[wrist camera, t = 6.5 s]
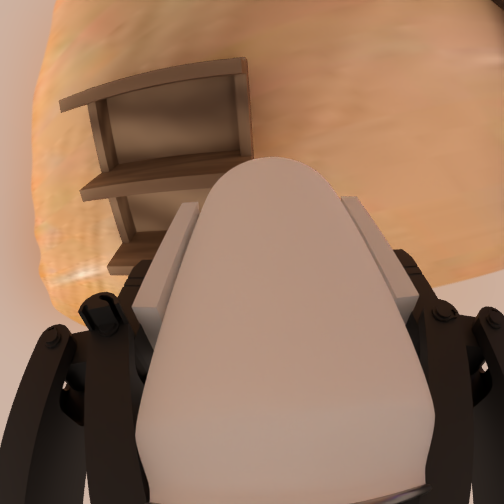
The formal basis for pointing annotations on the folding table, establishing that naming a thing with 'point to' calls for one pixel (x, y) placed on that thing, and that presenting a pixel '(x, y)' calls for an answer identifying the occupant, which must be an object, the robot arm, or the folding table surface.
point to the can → (282, 358)
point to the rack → (164, 145)
